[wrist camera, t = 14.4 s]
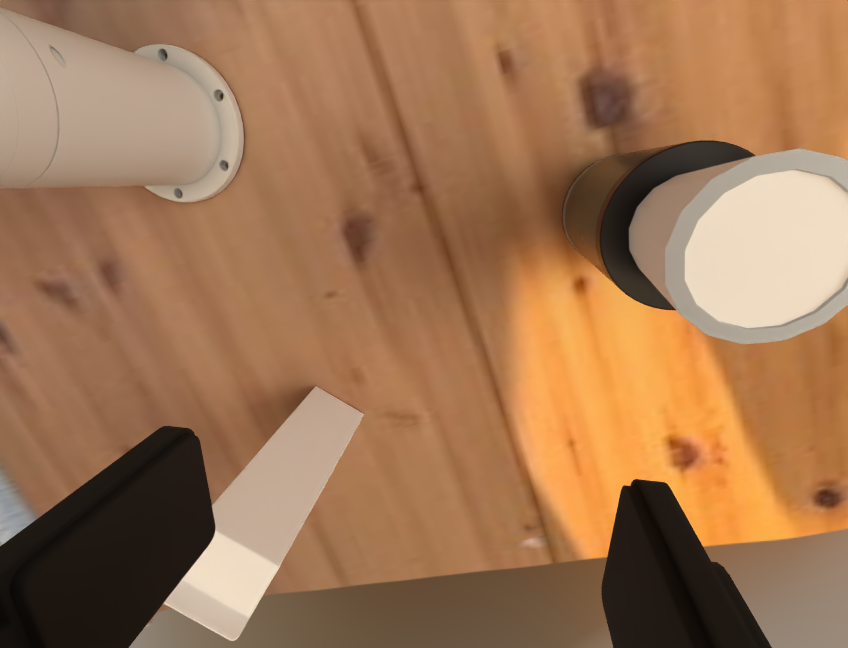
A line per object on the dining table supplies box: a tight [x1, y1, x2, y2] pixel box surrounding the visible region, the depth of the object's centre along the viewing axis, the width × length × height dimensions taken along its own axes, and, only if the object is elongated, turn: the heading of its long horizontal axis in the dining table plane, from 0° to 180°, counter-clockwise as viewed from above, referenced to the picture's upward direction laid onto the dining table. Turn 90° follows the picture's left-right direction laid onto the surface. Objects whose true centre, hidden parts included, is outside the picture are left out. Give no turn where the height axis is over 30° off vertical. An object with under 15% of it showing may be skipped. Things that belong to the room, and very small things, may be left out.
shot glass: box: [629, 149, 848, 344], centre depth 18 cm, size 7×7×7 cm
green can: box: [562, 141, 755, 310], centre depth 28 cm, size 8×8×14 cm
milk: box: [164, 386, 364, 641], centre depth 35 cm, size 6×6×22 cm
